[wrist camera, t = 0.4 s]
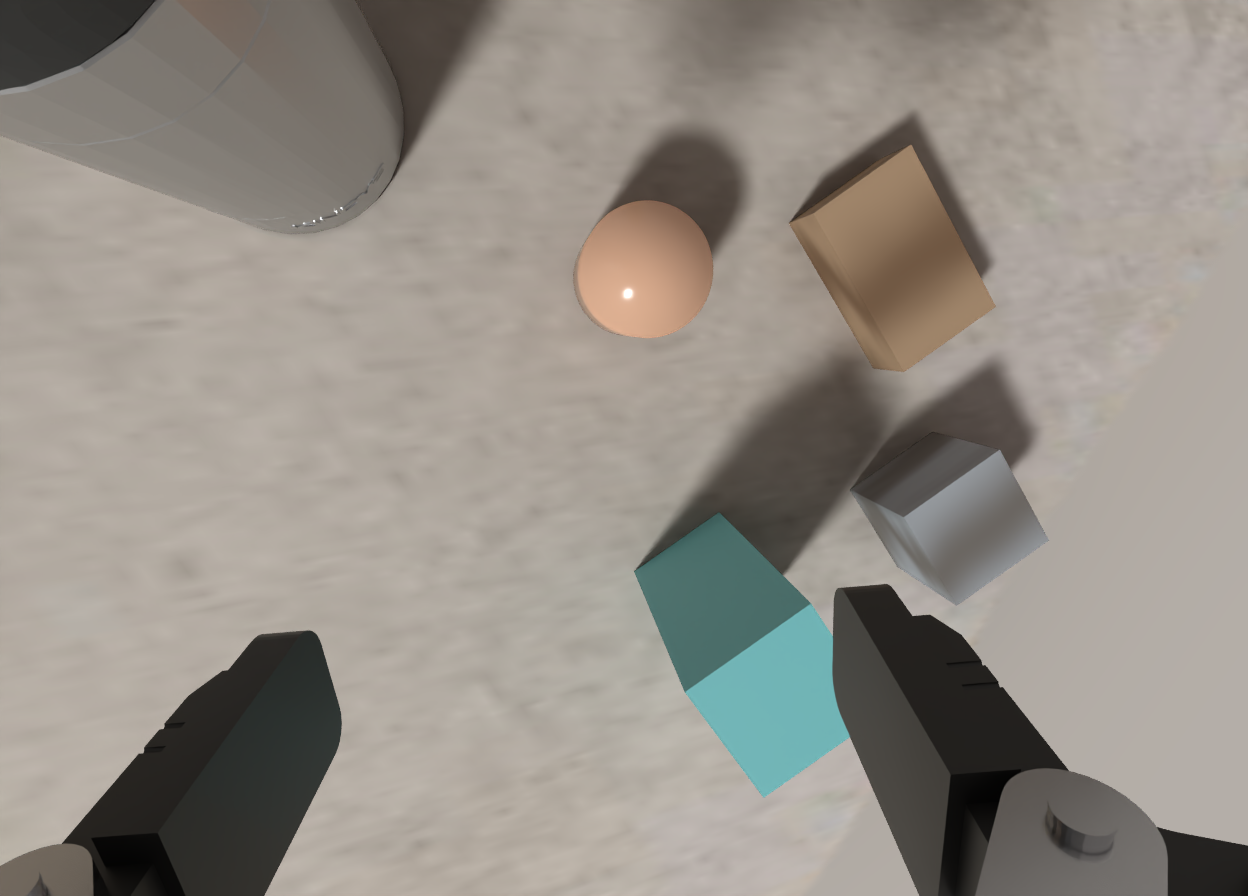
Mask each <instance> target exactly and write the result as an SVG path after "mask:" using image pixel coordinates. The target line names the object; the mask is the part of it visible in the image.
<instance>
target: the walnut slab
mask: <svg viewBox="0 0 1248 896" xmlns="http://www.w3.org/2000/svg"><path fill="white" fill-rule="evenodd" d="M789 224H790V226H791V228H792V229H793V231H794V233H795V234H796V236H797V238H798V240H799V241H800V243H801V245H802V246H803V248H804V250H805V252H806V253H807V255H808V257H809V258H810V260H811V262H812V264H813V265H814V267H815V269H816V270H817V272H818V274H819V276H820V277H821V279H822V281H823V282H824V284H825V286H826V288H827V289H828V291H829V293H830V294H831V296H832V298H833V300H834V301H835V303H836V305H837V306H838V308H839V310H840V312H841V313H842V315H843V317H844V318H845V320H846V322H847V324H848V325H849V327H850V329H851V330H852V332H853V334H854V336H855V337H856V339H857V341H858V342H859V344H860V346H861V348H862V349H863V351H864V353H865V355H866V356H867V358H868V360H869V361H870V363H871V365H872V367H873V368H875V369H884V370H892V371H900V372H905V371H906V370H907V369H909V368H910V367H912V366H913V365H914V364H916V363H917V362H919V361H920V360H922V359H923V358H924V357H926V356H927V355H929V354H930V353H931V352H933V351H934V350H936V349H937V348H938V347H940V346H941V345H943V344H944V343H945V342H947V341H948V340H950V339H951V338H952V337H954V336H955V335H957V334H958V333H959V332H961V331H962V330H964V329H965V328H966V327H968V326H969V325H971V324H972V323H974V322H975V321H976V320H978V319H979V318H981V317H982V316H983V315H985V314H986V313H988V312H989V311H990V310H992V309H993V308H995V307H996V306H995V304H994V302H993V300H992V298H991V297H990V295H989V293H988V291H987V289H986V287H985V285H984V283H983V281H982V279H981V277H980V275H979V274H978V272H977V270H976V268H975V266H974V264H973V262H972V260H971V258H970V256H969V254H968V252H967V251H966V249H965V247H964V245H963V243H962V241H961V239H960V237H959V235H958V233H957V231H956V230H955V228H954V226H953V224H952V222H951V220H950V218H949V216H948V214H947V212H946V210H945V208H944V207H943V205H942V203H941V201H940V199H939V197H938V195H937V193H936V191H935V189H934V187H933V185H932V184H931V182H930V180H929V178H928V176H927V174H926V172H925V170H924V168H923V166H922V164H921V162H920V161H919V159H918V157H917V155H916V153H915V151H914V149H913V147H912V145H909V146H907V147H905V148H903V149H900V150H898V151H896V152H894V153H892V154H890V155H888V156H886V157H884V158H882V159H880V160H878V161H876V162H875V163H874V164H872V165H871V166H869V167H868V168H866V169H865V170H864V171H862V172H861V173H859V174H858V175H857V176H855V177H854V178H852V179H851V180H849V181H848V182H847V183H845V184H844V185H842V186H841V187H840V188H838V189H837V190H835V191H834V192H833V193H831V194H830V195H828V196H827V197H825V198H824V199H823V200H821V201H820V202H818V203H817V204H816V205H814V206H813V207H811V208H810V209H808V210H807V211H806V212H804V213H803V214H801V215H800V216H799V217H797V218H796V219H794V220H793V221H791V222H790V223H789Z"/></svg>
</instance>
